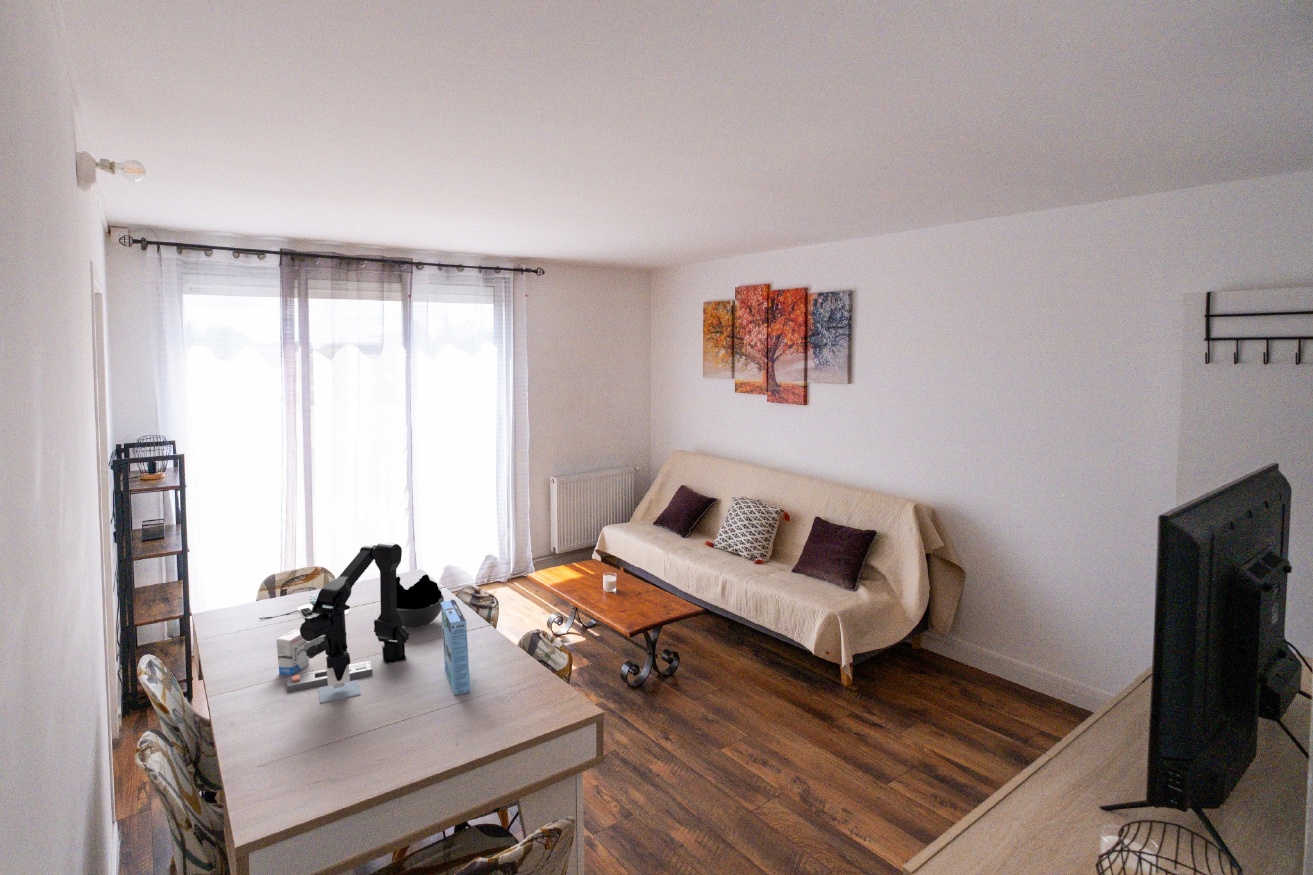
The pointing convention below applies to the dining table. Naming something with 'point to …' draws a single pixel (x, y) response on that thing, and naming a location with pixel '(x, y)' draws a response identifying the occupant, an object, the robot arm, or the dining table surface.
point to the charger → (333, 681)
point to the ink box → (291, 653)
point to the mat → (339, 692)
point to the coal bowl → (418, 602)
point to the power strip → (325, 676)
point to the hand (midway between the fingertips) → (338, 677)
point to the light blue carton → (455, 647)
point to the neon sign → (307, 608)
